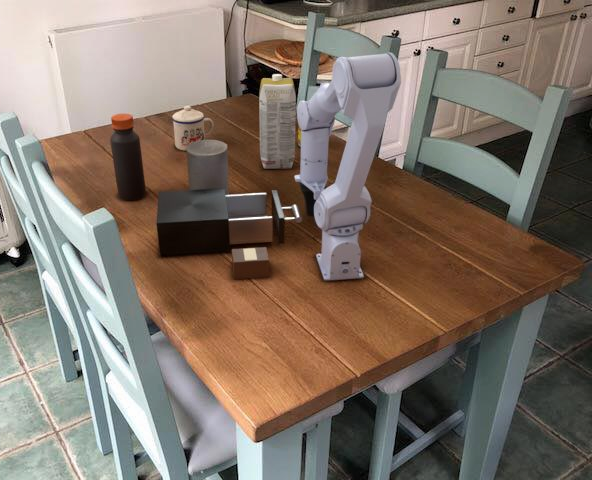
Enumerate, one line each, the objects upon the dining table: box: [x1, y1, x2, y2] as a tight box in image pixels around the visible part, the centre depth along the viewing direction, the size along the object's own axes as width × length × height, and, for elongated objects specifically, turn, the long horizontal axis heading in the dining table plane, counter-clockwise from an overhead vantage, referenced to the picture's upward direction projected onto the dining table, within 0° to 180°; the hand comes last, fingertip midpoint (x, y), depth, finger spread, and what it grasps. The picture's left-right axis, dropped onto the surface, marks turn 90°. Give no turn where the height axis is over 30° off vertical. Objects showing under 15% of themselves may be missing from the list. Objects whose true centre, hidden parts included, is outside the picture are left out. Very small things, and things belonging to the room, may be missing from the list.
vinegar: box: [109, 113, 147, 201], centre depth 151 cm, size 7×7×20 cm
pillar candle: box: [186, 139, 230, 195], centre depth 150 cm, size 10×10×15 cm
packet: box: [231, 246, 270, 280], centre depth 126 cm, size 5×7×4 cm
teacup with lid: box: [171, 105, 215, 152], centre depth 181 cm, size 12×9×12 cm
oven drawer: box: [226, 189, 303, 245], centre depth 138 cm, size 18×13×6 cm
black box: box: [156, 188, 231, 258], centre depth 137 cm, size 15×15×8 cm
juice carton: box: [258, 73, 297, 170], centre depth 166 cm, size 9×8×24 cm
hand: (312, 214), depth 139 cm, fingers closed
